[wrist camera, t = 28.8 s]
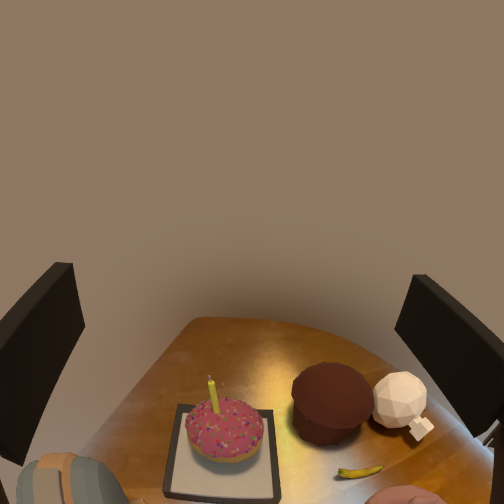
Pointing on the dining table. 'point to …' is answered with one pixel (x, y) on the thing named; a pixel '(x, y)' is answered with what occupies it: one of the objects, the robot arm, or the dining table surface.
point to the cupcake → (224, 428)
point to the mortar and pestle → (404, 496)
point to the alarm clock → (69, 482)
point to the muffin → (330, 402)
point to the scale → (222, 469)
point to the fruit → (358, 472)
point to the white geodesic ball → (401, 403)
